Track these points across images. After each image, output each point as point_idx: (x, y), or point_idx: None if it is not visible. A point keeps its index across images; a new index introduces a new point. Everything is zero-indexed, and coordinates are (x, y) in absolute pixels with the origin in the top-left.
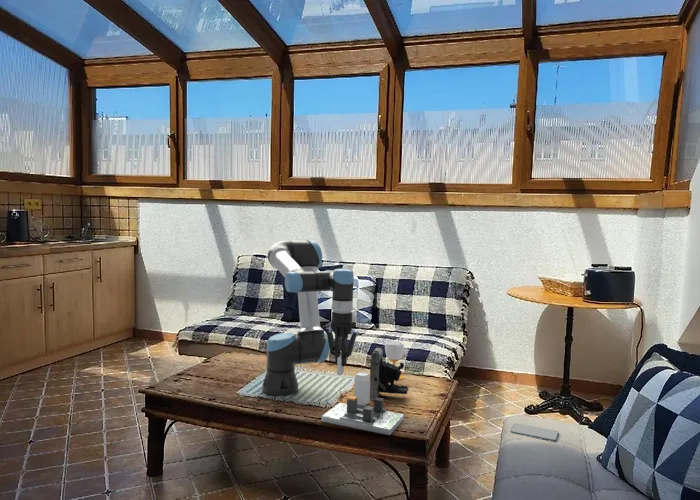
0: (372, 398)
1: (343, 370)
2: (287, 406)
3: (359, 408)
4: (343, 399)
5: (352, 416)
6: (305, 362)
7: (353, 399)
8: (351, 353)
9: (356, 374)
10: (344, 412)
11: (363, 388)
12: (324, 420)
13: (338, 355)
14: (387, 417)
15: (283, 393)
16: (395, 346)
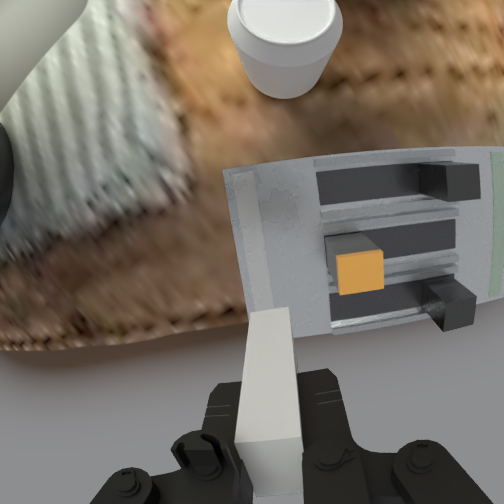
0: None
1: (290, 323)
2: (72, 282)
3: (347, 183)
4: (183, 76)
5: None
6: None
7: (376, 288)
8: (453, 462)
9: (250, 32)
10: (312, 262)
11: (318, 71)
12: None
13: (250, 500)
14: (477, 208)
15: (2, 212)
16: None
